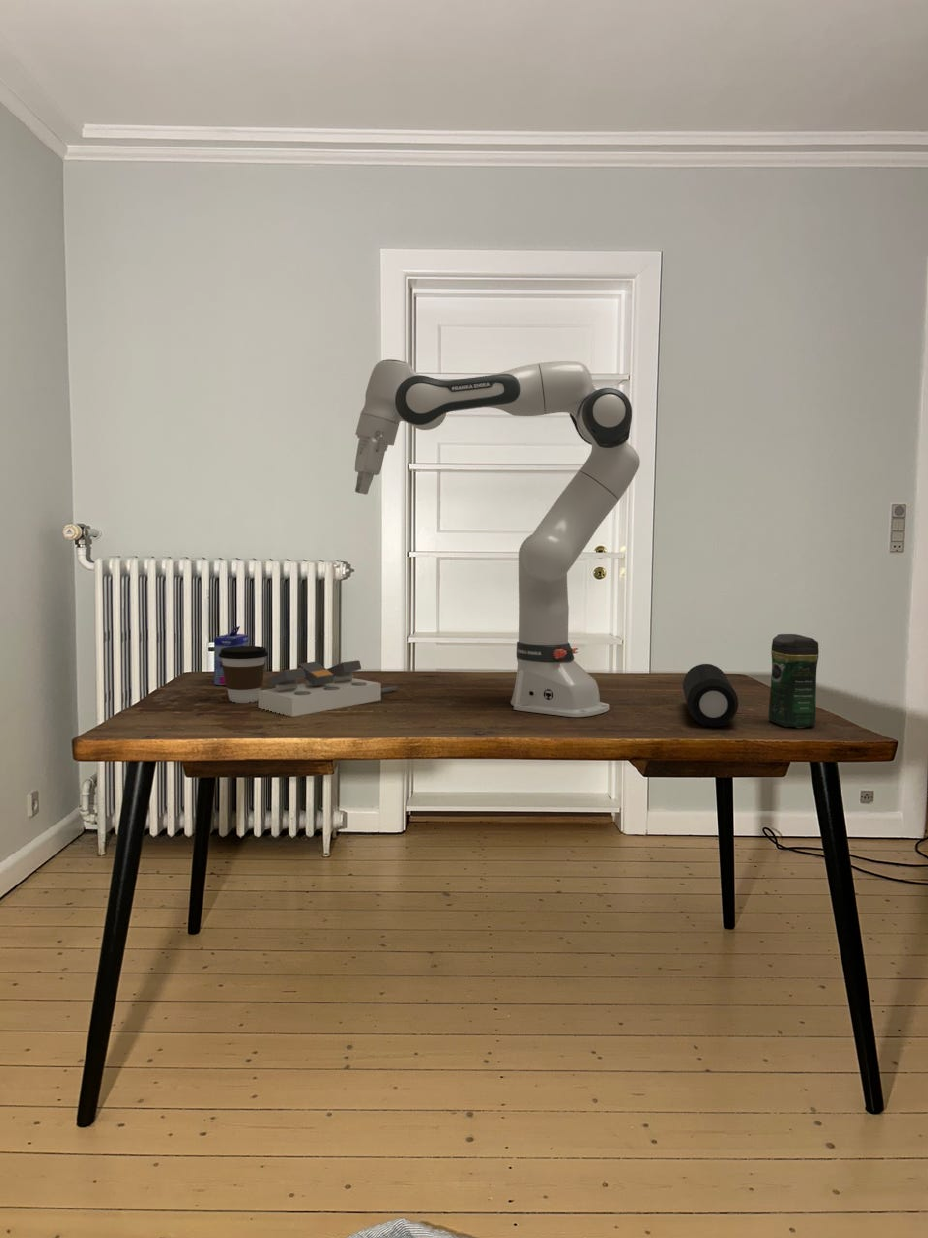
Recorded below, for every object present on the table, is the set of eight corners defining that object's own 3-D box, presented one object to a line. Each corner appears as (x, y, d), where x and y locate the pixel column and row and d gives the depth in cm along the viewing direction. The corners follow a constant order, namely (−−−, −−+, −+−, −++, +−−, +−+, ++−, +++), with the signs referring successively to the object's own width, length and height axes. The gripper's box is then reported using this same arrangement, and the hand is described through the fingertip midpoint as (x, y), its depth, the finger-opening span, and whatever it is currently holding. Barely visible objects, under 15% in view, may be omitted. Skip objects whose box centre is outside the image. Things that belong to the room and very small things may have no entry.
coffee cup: (266, 695, 208) (265, 644, 207) (271, 703, 198) (270, 651, 197) (218, 697, 205) (217, 646, 204) (221, 706, 195) (219, 652, 193)
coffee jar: (821, 729, 177) (826, 637, 175) (783, 729, 176) (788, 637, 174) (798, 718, 186) (802, 631, 184) (762, 719, 186) (766, 631, 184)
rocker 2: (332, 683, 199) (334, 674, 198) (314, 685, 195) (316, 677, 194) (314, 669, 203) (316, 660, 202) (296, 671, 199) (298, 663, 198)
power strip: (413, 694, 211) (413, 670, 210) (292, 716, 185) (291, 690, 184) (379, 687, 219) (379, 665, 218) (258, 708, 193) (258, 683, 192)
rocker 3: (361, 668, 204) (359, 659, 204) (344, 671, 200) (342, 662, 200) (343, 675, 208) (340, 666, 209) (326, 678, 205) (324, 669, 205)
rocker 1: (305, 677, 192) (303, 667, 192) (286, 679, 188) (284, 670, 189) (287, 684, 197) (285, 674, 197) (268, 687, 193) (266, 677, 193)
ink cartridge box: (234, 686, 219) (232, 629, 218) (213, 686, 220) (211, 628, 218) (250, 680, 229) (249, 624, 227) (229, 679, 230) (228, 624, 228)
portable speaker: (738, 731, 175) (740, 682, 174) (687, 729, 177) (688, 680, 176) (726, 706, 200) (728, 662, 199) (681, 704, 202) (683, 661, 201)
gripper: (396, 434, 186) (380, 498, 187) (384, 438, 205) (369, 496, 207) (368, 426, 184) (351, 490, 185) (357, 430, 204) (342, 488, 205)
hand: (360, 493), depth 196 cm, fingers open, 8 cm apart
